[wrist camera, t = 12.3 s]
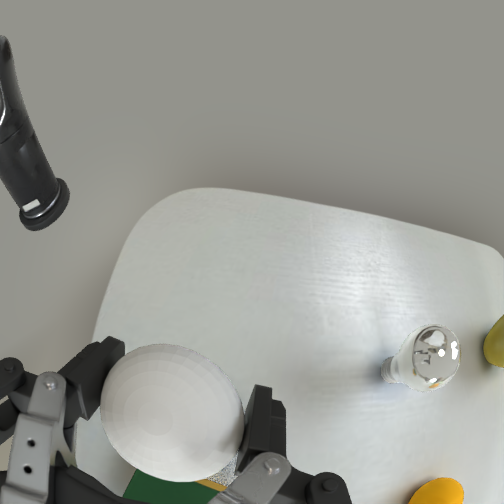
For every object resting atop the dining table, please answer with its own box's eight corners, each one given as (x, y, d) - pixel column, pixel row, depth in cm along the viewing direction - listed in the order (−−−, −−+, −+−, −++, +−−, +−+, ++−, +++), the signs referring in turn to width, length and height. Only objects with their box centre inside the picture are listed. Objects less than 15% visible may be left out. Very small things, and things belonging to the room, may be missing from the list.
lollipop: (246, 416, 19) (293, 441, 7) (190, 452, 17) (146, 524, 4) (202, 359, 22) (176, 294, 9) (147, 394, 19) (47, 374, 7)
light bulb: (411, 388, 27) (479, 370, 16) (368, 406, 25) (436, 398, 15) (400, 340, 30) (463, 306, 20) (357, 352, 29) (418, 322, 19)
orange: (443, 498, 17) (477, 503, 10) (402, 531, 15) (434, 544, 8) (435, 465, 20) (473, 467, 14) (392, 498, 18) (428, 510, 12)
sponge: (131, 489, 18) (121, 496, 15) (150, 451, 21) (142, 457, 18) (207, 523, 17) (206, 535, 14) (228, 487, 20) (229, 496, 17)
